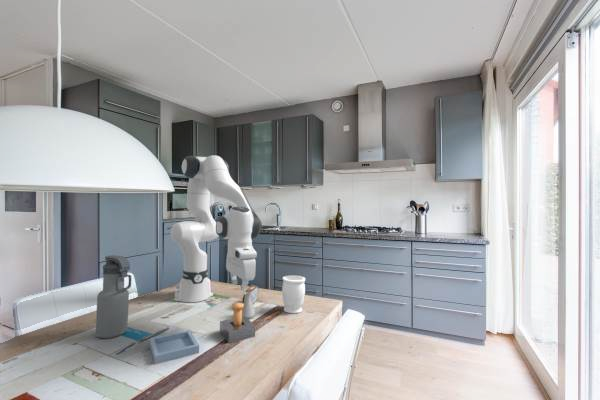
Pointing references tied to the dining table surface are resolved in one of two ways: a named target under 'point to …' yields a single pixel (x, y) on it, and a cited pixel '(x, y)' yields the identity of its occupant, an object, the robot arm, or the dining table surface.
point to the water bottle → (113, 298)
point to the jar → (293, 293)
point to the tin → (252, 293)
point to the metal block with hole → (237, 330)
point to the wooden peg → (237, 313)
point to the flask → (248, 306)
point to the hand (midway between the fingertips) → (238, 287)
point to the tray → (173, 346)
